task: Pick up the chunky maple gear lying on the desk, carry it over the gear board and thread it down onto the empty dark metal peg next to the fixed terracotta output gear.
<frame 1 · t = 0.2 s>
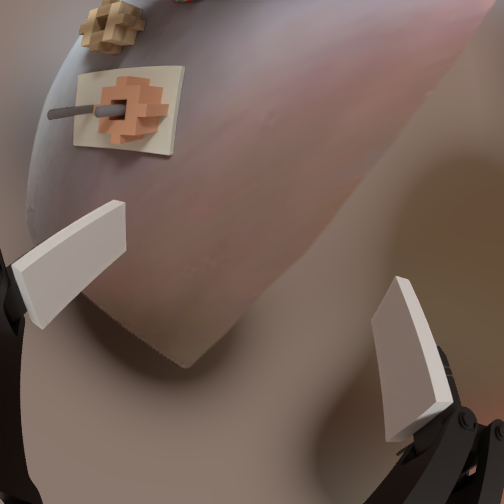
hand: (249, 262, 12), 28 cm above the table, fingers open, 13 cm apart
gear board: (121, 108, 36), on the table
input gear: (122, 29, 29), on the table
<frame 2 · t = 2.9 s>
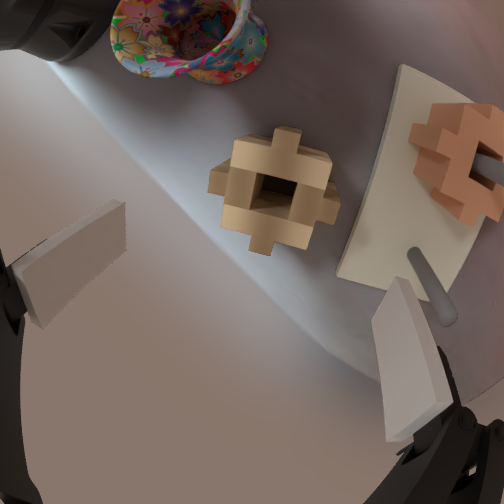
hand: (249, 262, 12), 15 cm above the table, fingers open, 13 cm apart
gear board: (432, 196, 22), on the table
mug: (234, 35, 19), on the table
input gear: (281, 178, 25), on the table
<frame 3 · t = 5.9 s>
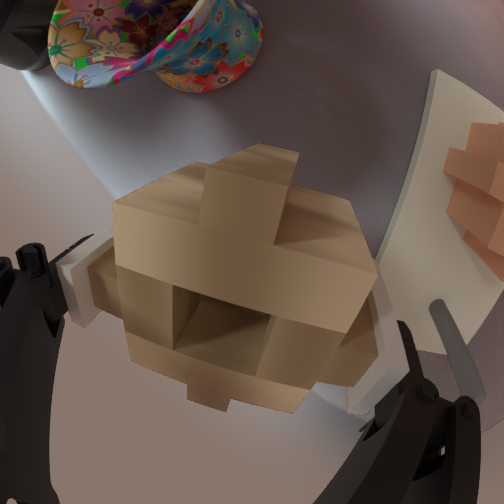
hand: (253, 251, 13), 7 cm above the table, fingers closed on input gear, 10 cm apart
gear board: (463, 238, 17), on the table
mug: (221, 30, 14), on the table
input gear: (255, 248, 13), point 7 cm above the table, touching gripper
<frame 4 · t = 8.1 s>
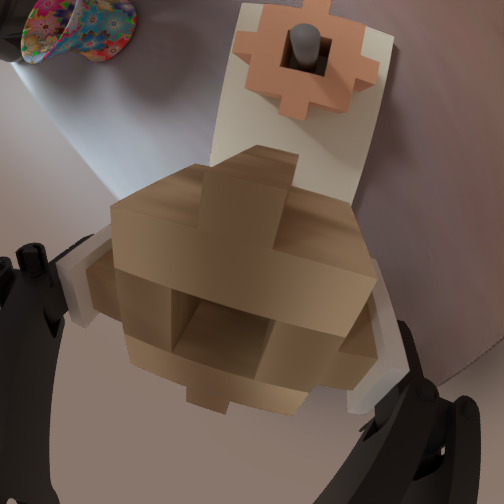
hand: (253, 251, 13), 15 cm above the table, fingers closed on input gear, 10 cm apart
gear board: (295, 118, 22), on the table
mug: (120, 22, 19), on the table
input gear: (254, 250, 13), point 14 cm above the table, touching gripper
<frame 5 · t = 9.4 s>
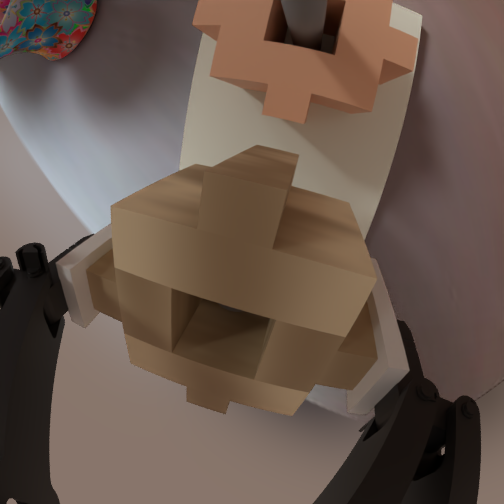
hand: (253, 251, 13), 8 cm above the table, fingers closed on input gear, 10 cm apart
gear board: (292, 120, 16), on the table
mug: (81, 13, 13), on the table
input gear: (254, 250, 13), point 7 cm above the table, touching gripper
when the fingers open (4 cm above the table, at t = 10.6 s): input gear drops 3 cm, resting on gear board.
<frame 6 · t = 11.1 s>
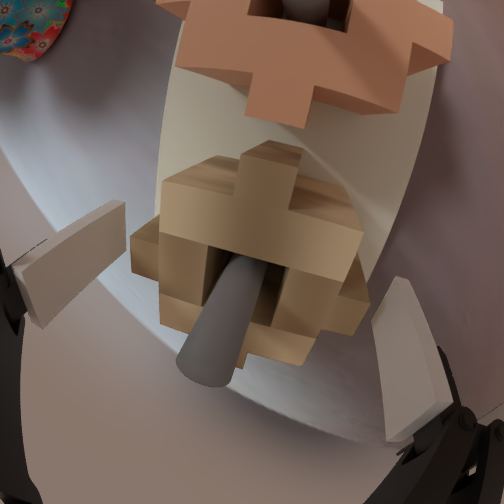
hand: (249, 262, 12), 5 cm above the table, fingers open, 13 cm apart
gear board: (290, 122, 14), on the table
mug: (58, 9, 11), on the table
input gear: (266, 228, 15), point 1 cm above the table, touching gear board
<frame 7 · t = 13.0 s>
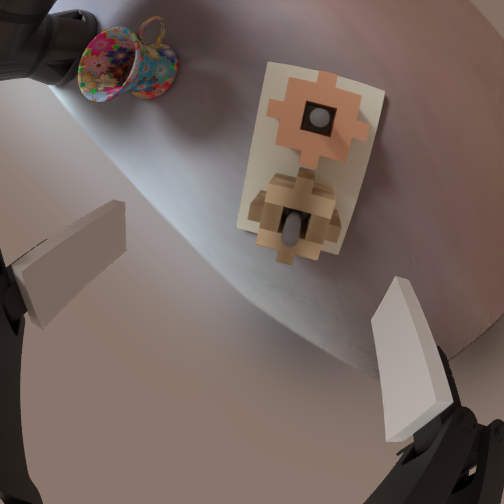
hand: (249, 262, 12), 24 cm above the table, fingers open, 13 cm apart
gear board: (308, 158, 31), on the table
mug: (161, 64, 29), on the table
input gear: (297, 206, 33), point 1 cm above the table, touching gear board
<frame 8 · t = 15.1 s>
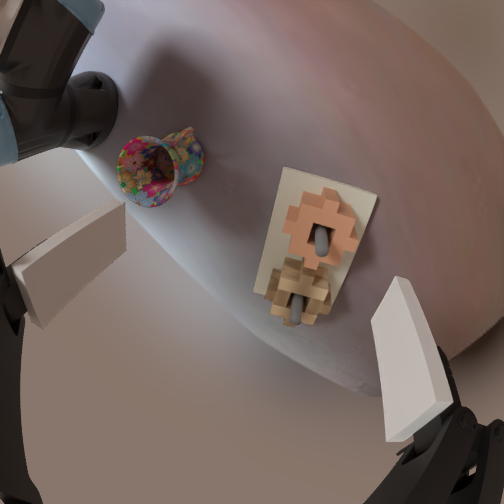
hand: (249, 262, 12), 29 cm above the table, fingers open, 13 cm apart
gear board: (310, 245, 42), on the table
mug: (187, 151, 39), on the table
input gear: (300, 280, 44), point 1 cm above the table, touching gear board
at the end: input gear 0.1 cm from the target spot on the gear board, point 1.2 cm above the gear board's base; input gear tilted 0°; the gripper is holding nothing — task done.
